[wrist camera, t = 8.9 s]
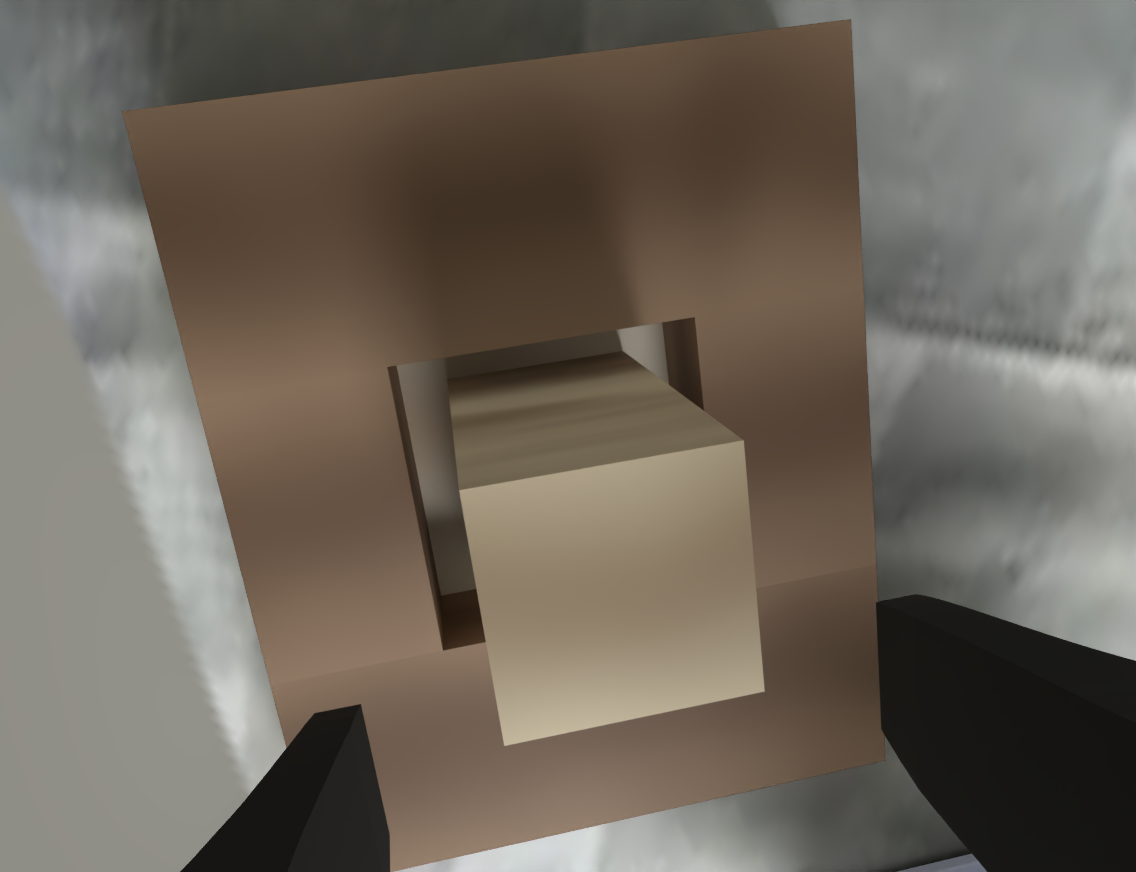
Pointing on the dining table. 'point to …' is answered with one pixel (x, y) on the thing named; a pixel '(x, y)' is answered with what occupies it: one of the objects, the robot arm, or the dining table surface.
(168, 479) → the dining table surface
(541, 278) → the socket block
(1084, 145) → the dining table surface
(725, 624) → the beech peg
